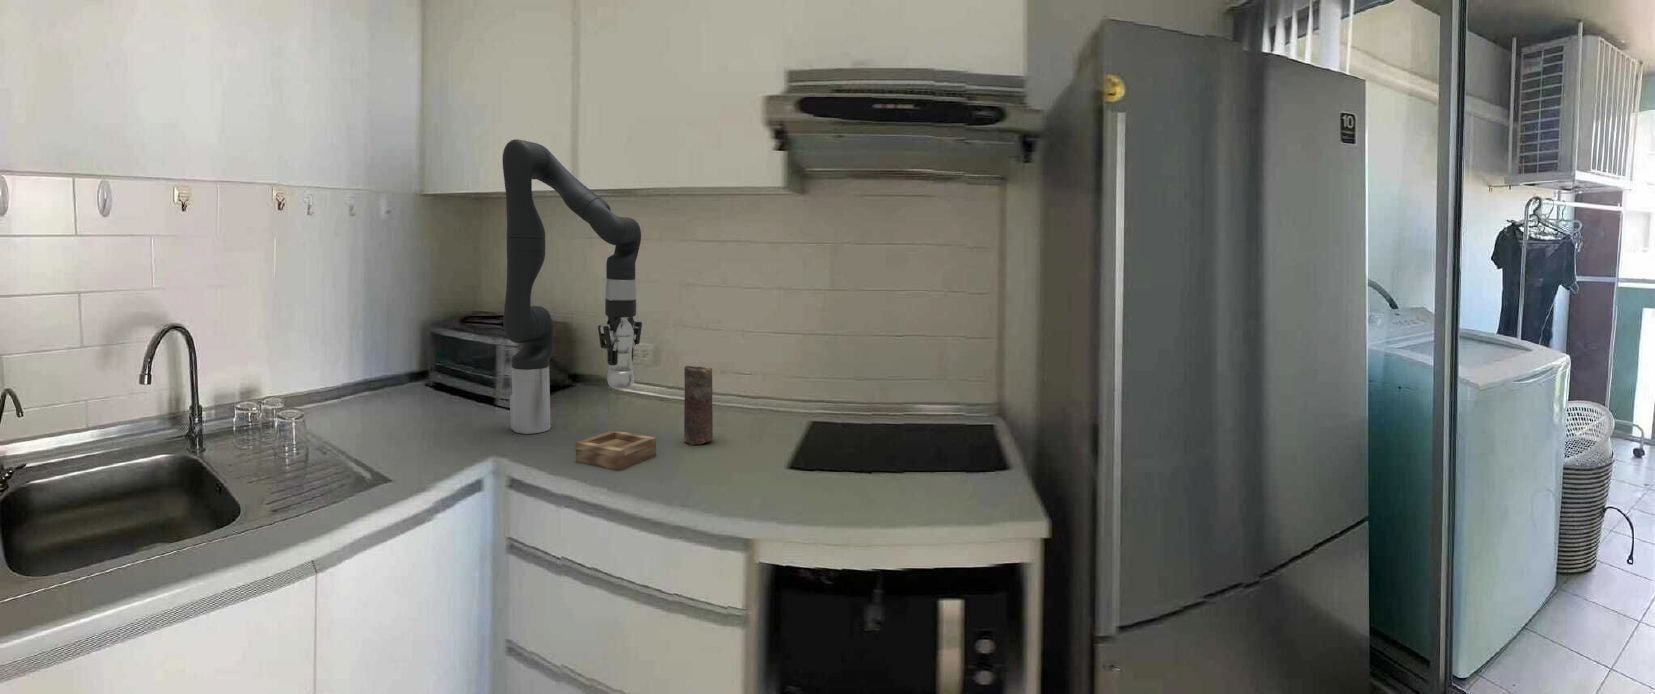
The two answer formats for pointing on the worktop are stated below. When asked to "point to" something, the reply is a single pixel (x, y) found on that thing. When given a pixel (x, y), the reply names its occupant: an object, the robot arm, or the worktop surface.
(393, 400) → the worktop surface
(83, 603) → the worktop surface
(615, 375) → the plastic bottle
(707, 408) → the candle
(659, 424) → the worktop surface
